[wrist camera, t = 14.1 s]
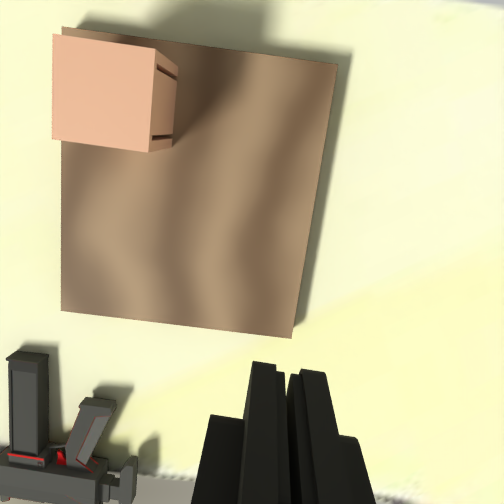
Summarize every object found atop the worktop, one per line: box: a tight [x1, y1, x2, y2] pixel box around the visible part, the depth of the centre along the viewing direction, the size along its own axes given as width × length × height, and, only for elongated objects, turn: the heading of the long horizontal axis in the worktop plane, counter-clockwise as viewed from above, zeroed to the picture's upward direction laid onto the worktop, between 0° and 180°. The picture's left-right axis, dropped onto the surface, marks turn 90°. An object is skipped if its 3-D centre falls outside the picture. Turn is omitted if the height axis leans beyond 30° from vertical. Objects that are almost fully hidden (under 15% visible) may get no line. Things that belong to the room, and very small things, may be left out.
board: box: [61, 27, 338, 339], centre depth 31 cm, size 18×20×2 cm
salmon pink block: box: [52, 34, 178, 153], centre depth 26 cm, size 5×5×7 cm
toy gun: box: [0, 351, 138, 504], centre depth 37 cm, size 3×19×15 cm
